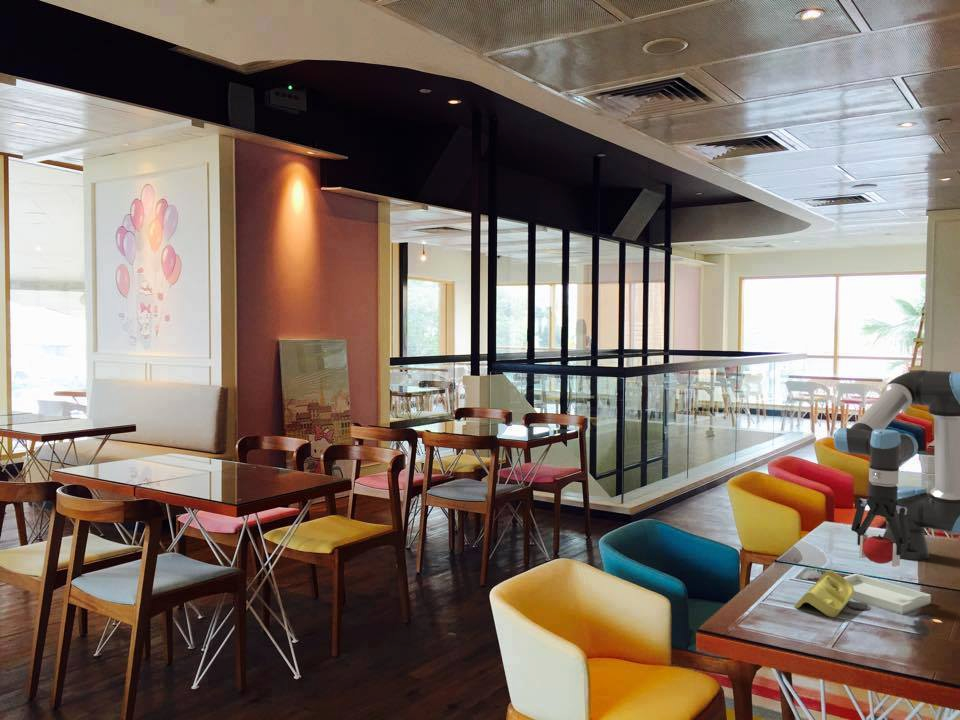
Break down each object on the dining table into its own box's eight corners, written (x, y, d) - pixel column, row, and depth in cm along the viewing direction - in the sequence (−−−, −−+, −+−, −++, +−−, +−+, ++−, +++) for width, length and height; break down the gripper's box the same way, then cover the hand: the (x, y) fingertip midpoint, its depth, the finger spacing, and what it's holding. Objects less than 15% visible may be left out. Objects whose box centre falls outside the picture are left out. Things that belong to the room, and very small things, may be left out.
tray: (855, 581, 241) (855, 573, 241) (930, 603, 224) (931, 594, 224) (826, 590, 232) (826, 582, 232) (902, 614, 214) (902, 605, 214)
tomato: (868, 565, 223) (870, 538, 223) (856, 556, 232) (858, 529, 232) (901, 567, 222) (903, 539, 222) (888, 558, 231) (889, 531, 231)
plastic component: (839, 611, 209) (804, 588, 214) (825, 632, 212) (791, 608, 217) (858, 587, 224) (825, 566, 230) (845, 607, 227) (813, 585, 232)
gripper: (840, 478, 233) (836, 553, 234) (915, 492, 215) (910, 573, 216) (853, 476, 237) (850, 550, 238) (928, 489, 220) (924, 569, 221)
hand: (879, 561), depth 227 cm, fingers closed on tomato, 9 cm apart
